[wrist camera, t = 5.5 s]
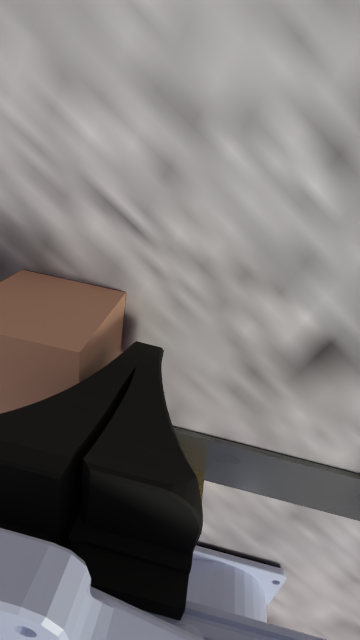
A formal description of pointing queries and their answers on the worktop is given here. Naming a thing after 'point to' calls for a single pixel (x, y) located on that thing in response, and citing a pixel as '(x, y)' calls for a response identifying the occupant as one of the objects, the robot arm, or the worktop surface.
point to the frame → (271, 474)
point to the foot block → (54, 335)
